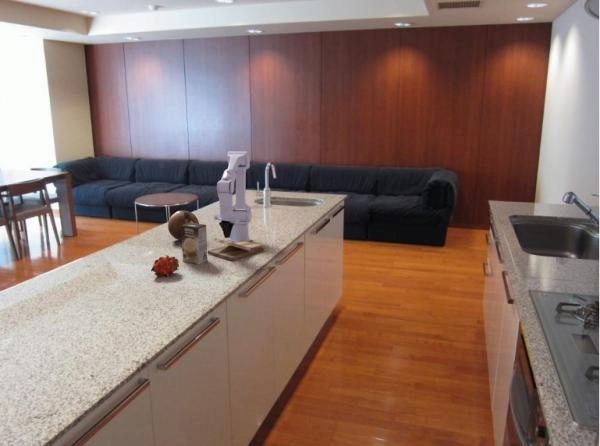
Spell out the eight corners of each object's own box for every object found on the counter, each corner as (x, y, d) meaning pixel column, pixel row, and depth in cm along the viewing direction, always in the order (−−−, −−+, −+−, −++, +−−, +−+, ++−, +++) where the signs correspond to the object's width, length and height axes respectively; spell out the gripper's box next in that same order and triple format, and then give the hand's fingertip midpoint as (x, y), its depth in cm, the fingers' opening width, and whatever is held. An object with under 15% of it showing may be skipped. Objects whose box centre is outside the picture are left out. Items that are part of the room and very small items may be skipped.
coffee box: (182, 261, 211) (179, 225, 207) (191, 257, 217) (189, 222, 213) (199, 264, 207) (197, 227, 203) (208, 260, 213) (206, 224, 209)
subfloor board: (207, 253, 222) (207, 248, 221) (240, 244, 236) (240, 239, 236) (231, 261, 212) (231, 255, 211) (264, 250, 226) (264, 245, 226)
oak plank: (213, 240, 222) (214, 237, 222) (229, 245, 230) (230, 242, 230) (234, 246, 213) (235, 243, 213) (250, 250, 221) (250, 248, 221)
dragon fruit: (182, 275, 198) (155, 286, 191) (172, 260, 202) (144, 270, 195) (185, 263, 192) (156, 274, 185) (174, 247, 196) (146, 257, 189)
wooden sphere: (168, 237, 249) (166, 208, 245) (198, 235, 253) (196, 206, 250) (170, 245, 235) (167, 215, 231) (201, 242, 240) (200, 212, 236)
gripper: (208, 206, 217) (209, 236, 220) (230, 211, 208) (231, 242, 211) (220, 204, 222) (222, 233, 225) (242, 208, 213) (243, 238, 216)
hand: (227, 237), depth 218 cm, fingers closed
